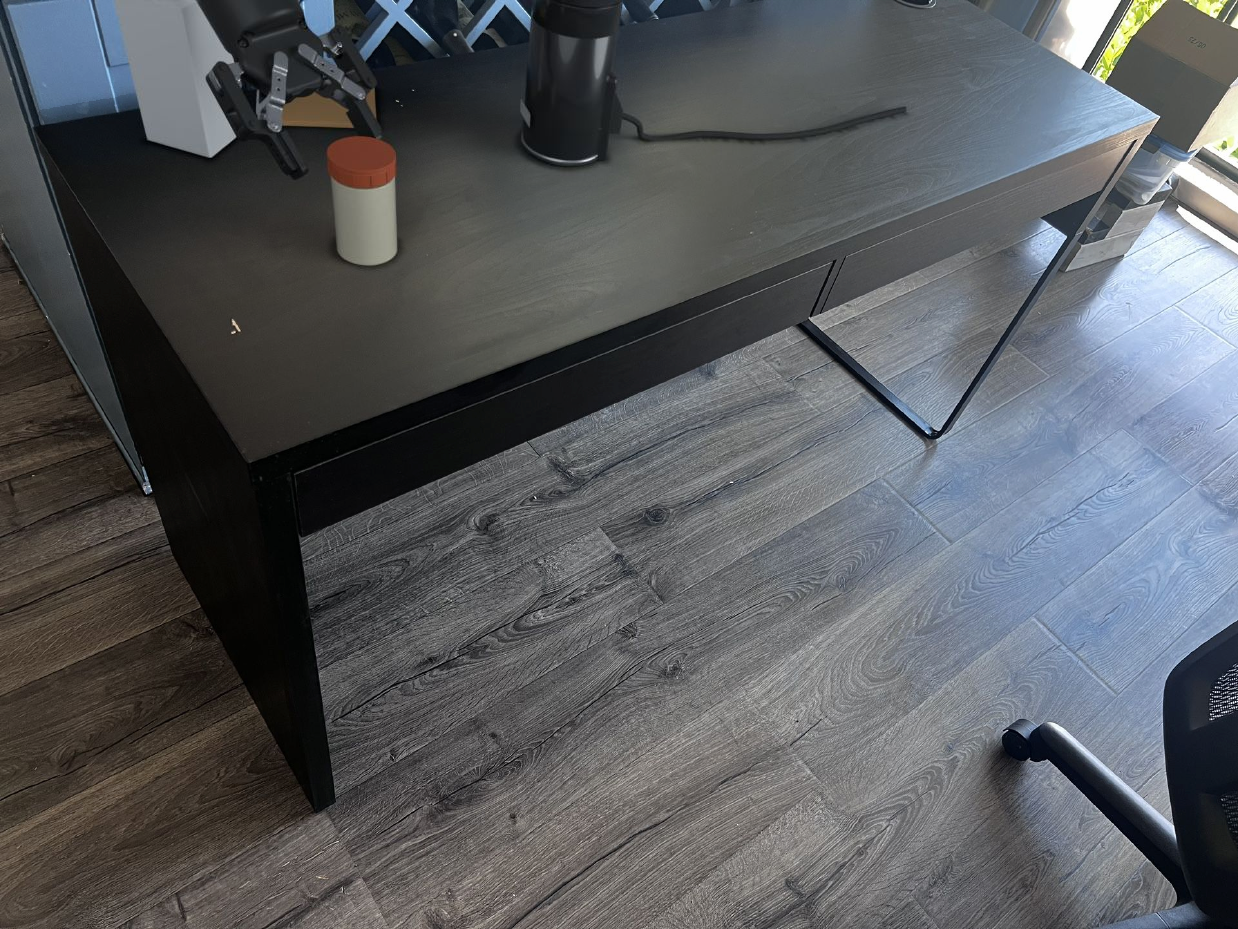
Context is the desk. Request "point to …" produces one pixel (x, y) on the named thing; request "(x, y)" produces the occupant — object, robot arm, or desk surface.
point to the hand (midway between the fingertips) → (339, 160)
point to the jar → (365, 222)
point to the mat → (320, 112)
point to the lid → (361, 162)
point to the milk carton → (175, 73)
